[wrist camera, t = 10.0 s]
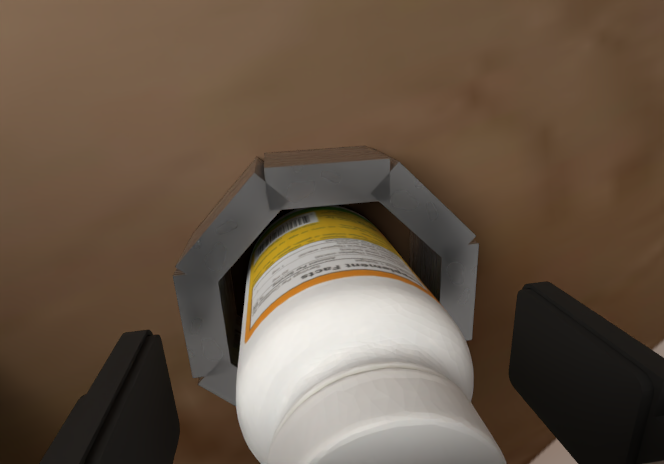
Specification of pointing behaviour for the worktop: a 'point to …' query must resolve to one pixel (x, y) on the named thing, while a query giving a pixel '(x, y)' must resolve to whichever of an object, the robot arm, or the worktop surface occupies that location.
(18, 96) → the worktop surface
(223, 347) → the collar
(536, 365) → the robot arm
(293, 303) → the supplement bottle
